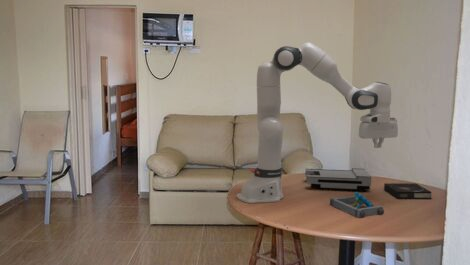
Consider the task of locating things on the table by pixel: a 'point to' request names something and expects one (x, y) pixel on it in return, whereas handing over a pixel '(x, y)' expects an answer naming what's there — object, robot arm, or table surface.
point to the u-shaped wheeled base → (362, 212)
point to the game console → (339, 179)
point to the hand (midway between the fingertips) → (377, 147)
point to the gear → (361, 201)
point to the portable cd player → (407, 191)
